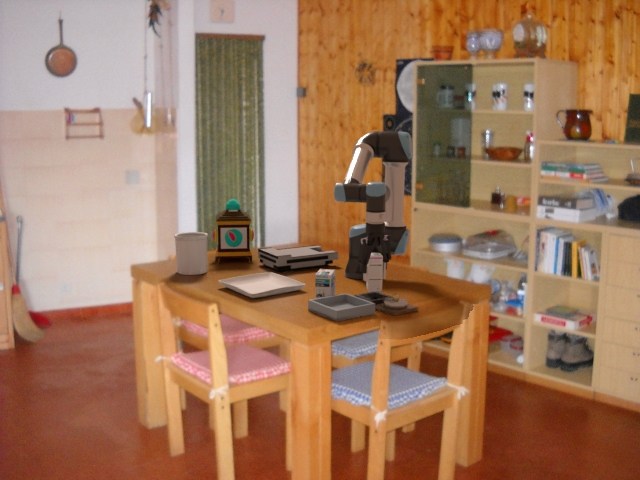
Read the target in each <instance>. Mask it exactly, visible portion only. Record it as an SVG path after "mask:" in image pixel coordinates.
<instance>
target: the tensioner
mask: <svg viewBox="0 0 640 480" xmlns="http://www.w3.org/2000/svg"><path fill="white" fill-rule="evenodd" d="M353 296H355V297H358V298H361V299H364V300H367V301H370V302H373V303H375V310H376V309H377V310H376V311H379V310H380V311H379V312H382V311H383V312H382V313H385V314H388V315H391V316H393V317H394V316H400V315H405V314H409V313H415V312H418V311H419V306H415V305H414V304H413V305H412V304H410V303H409V301H408V300H407V298H401V297H400V294H398V293H393V294H392V295H389V294H386V293H383V292H368V291H367V292H364V293H358V294H354V295H353ZM373 298H377V299H373Z"/></svg>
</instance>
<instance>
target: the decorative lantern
mask: <svg viewBox="0 0 640 480" xmlns="http://www.w3.org/2000/svg"><path fill="white" fill-rule="evenodd" d="M215 224H216V226H217V228H216V229H214V230H213V232H212V239H213V242H215V243H217V246H216V249H215V262H216V264H219V263H220V259H231V258H248V263H250V264H251V263H252V262H253V255H252V250H251V247H250V242H253V241H254V239H255V237H254V236H255V234H254V230H253V228H250V226H251V224H252V218H251V215H250V214H249V213H248V212H246V211H244V210H243V209H241V204H240V202H239V201H238V200H237V199H235V198H232V199H230V200H228V201H227V203H226V205H225V209H224V210H223V211H220V212H218V213H217V214H216V215H215Z"/></svg>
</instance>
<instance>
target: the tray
mask: <svg viewBox="0 0 640 480" xmlns="http://www.w3.org/2000/svg"><path fill="white" fill-rule="evenodd" d="M307 310H308V311H309V312H311V313H315V314H316V315H319V316H321V315H322V316H321V317H324V318H326V317H327V318H326V319H329V320H331V319H332V321H334V322H342V321H346V319H347V320H350V318H352V319H356V318H355V317H357V318H361V317H360V316H362V317H366V316H372V315H376V309H375V303H373V302H370V301H367V300H364V299H361V298H358V297H355V296H354V295H352V294H350V293H340V294H335V295H333V296H328V297H322V298H316V299H315V298H311V299H308V300H307Z"/></svg>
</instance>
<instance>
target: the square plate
mask: <svg viewBox="0 0 640 480" xmlns="http://www.w3.org/2000/svg"><path fill="white" fill-rule="evenodd" d="M217 281H218V283H219V284H220V285H222V287H225V288H228V289H230V290H232V291H234V292H237V293H239V294H241V295H244V296H246V297H249V298H251V299H257V298H264V297H269V296H274V295H275V296H276V295H281V294H287V293H291V292H296V291H299V290H302V289H303V288H304V287H305V286H307V284H306V283H304V282H302V281H299V280H297V279H294V278H291V277H289V276H285V275H281V274H278V273H275V272H272V271H268V272H260V273H258V272H257V273H251V274H245V275H239V276H233V277H229V278H223V279H219V280H217Z"/></svg>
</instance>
